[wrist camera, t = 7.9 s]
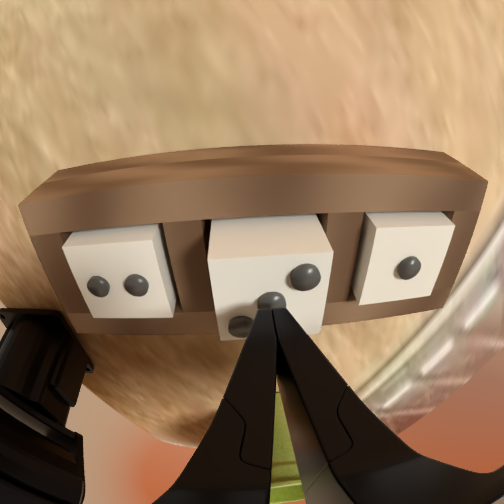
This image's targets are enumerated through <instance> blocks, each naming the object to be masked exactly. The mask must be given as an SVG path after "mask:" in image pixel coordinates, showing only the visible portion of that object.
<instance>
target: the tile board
mask: <svg viewBox="0 0 504 504" xmlns="http://www.w3.org/2000/svg"><path fill="white" fill-rule="evenodd" d="M487 184H488V181H487V180H486V179H484V178H483V177H481V176H480V175H478V174H477V173H475V172H474V171H472V170H471V169H469V168H468V167H466V166H465V165H463V164H462V163H460V162H459V161H457V160H455V159H454V158H452V157H451V156H449V155H447V154H446V153H444V152H436V151H427V150H417V149H406V148H393V147H378V146H358V145H318V144H298V145H258V146H238V147H222V148H209V149H197V150H187V151H177V152H168V153H160V154H152V155H144V156H137V157H130V158H123V159H117V160H111V161H105V162H99V163H94V164H88V165H83V166H78V167H73V168H68V169H63V170H59V171H57V172H56V173H54V174H53V175H52V176H51V177H50V178H48V179H47V180H46V181H45V182H44V183H42V184H41V185H40V186H39V187H38V188H36V189H35V190H34V191H33V192H32V193H31V194H30V195H29V196H27V197H26V198H25V199H24V200H23V201H22V202H21V203H20V204H19V205H18V206H19V209H20V212H21V215H22V217H23V220H24V223H25V226H26V228H27V231H28V233H29V236H30V238H31V241H32V243H33V246H34V248H35V250H36V253H37V255H38V257H39V260H40V262H41V264H42V266H43V269H44V271H45V273H46V275H47V277H48V279H49V281H50V283H51V285H52V287H53V289H54V291H55V293H56V295H57V297H58V299H59V301H60V303H61V305H62V307H63V309H64V310H65V312H66V314H67V316H68V318H69V319H70V321H71V323H72V325H73V326H74V328H75V330H76V332H77V333H87V334H118V335H183V334H215V333H219V330H218V324H217V318H216V312H215V305H214V299H213V293H212V287H211V280H210V273H209V267H208V260H207V259H208V250H209V240H210V231H211V222H212V219H219V218H235V217H252V216H271V215H292V214H316V216H317V218H318V220H319V222H320V224H321V226H322V228H323V230H324V232H325V235H326V237H327V239H328V241H329V243H330V245H331V247H332V250H333V252H334V253H333V260H332V266H331V273H330V279H329V286H328V292H327V298H326V304H325V309H324V315H323V320H322V326H323V325H332V324H341V323H349V322H357V321H364V320H372V319H379V318H386V317H392V316H399V315H405V314H411V313H417V312H423V311H428V310H434V309H439V308H443V306H444V304H445V302H446V300H447V298H448V295H449V293H450V291H451V289H452V286H453V284H454V282H455V279H456V277H457V275H458V272H459V270H460V267H461V265H462V262H463V260H464V257H465V254H466V252H467V249H468V246H469V243H470V241H471V238H472V235H473V232H474V229H475V226H476V223H477V219H478V216H479V213H480V210H481V206H482V203H483V199H484V196H485V192H486V188H487ZM386 211H441V212H442V213H443V214H444V215H445V216H446V217H447V218H448V219H449V220H450V221H451V222H452V223H453V224H454V225H455V228H454V231H453V235H452V238H451V241H450V244H449V247H448V250H447V253H446V255H445V258H444V261H443V264H442V267H441V269H440V272H439V275H438V277H437V280H436V282H435V285H434V287H433V290H432V292H431V295H430V296H424V297H418V298H411V299H404V300H397V301H389V302H382V303H374V304H366V305H358V302H357V300H356V298H355V295H354V293H353V291H352V288H351V286H350V284H351V280H352V275H353V270H354V265H355V260H356V255H357V249H358V244H359V238H360V233H361V227H362V221H363V215H364V212H386ZM152 223H163V228H164V233H165V238H166V243H167V247H168V252H169V256H170V261H171V265H172V269H173V274H174V278H175V282H176V286H177V290H178V292H177V298H176V303H175V309H174V315H173V318H93V316H92V314H91V312H90V310H89V308H88V306H87V304H86V302H85V300H84V297H83V295H82V293H81V291H80V289H79V287H78V285H77V282H76V280H75V278H74V276H73V273H72V271H71V269H70V266H69V264H68V261H67V259H66V256H65V254H64V251H63V249H62V246H63V245H64V243H65V242H66V241H67V239H68V238H69V237H70V235H71V234H72V232H73V231H79V230H89V229H98V228H108V227H119V226H130V225H141V224H152Z"/></svg>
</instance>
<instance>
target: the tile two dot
mask: <svg viewBox="0 0 504 504" xmlns="http://www.w3.org/2000/svg"><path fill="white" fill-rule="evenodd" d="M62 249H63V251H64V254H65V256H66V259H67V261H68V264H69V266H70V269H71V271H72V273H73V276H74V278H75V280H76V282H77V285H78V287H79V289H80V291H81V293H82V295H83V297H84V300H85V302H86V304H87V306H88V308H89V310H90V312H91V314H92V316H93V318H173V315H174V309H175V303H176V298H177V292H178V290H177V286H176V282H175V278H174V274H173V269H172V265H171V261H170V256H169V252H168V247H167V243H166V238H165V233H164V228H163V223H152V224H141V225H130V226H119V227H108V228H98V229H89V230H79V231H73V232H72V234H71V235H70V237H69V238H68V239H67V241H66V242H65V243H64V245H63V246H62Z"/></svg>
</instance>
